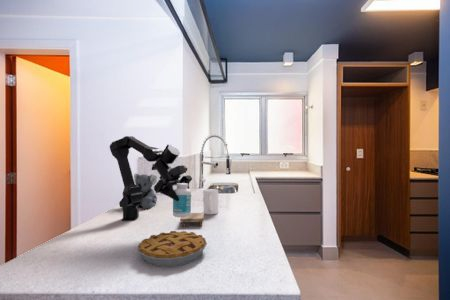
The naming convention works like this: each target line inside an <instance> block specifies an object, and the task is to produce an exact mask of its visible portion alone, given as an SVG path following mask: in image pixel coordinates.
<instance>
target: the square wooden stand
mask: <svg viewBox="0 0 450 300" xmlns="http://www.w3.org/2000/svg"><path fill="white" fill-rule="evenodd" d="M204 217H205V214H204V213H203V212H191V214H190V216H188V217H179V221H180V222H181V227H186V223H188V222H190V223H191V222H198V226H199V227H202V226H203V222H204V219H205V218H204Z"/></svg>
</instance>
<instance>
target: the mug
mask: <svg viewBox="0 0 450 300" xmlns="http://www.w3.org/2000/svg"><path fill="white" fill-rule="evenodd" d="M202 193H203V195H202V203H203V204H202V207H203V209H202V210H203V211H202V213H204V215H216V214H219V189H217V188H205V189H203V190H202Z"/></svg>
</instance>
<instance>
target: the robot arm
mask: <svg viewBox="0 0 450 300" xmlns="http://www.w3.org/2000/svg"><path fill="white" fill-rule="evenodd" d="M130 149H134V150H136V151H137V152H139V153H140V154H141V155H142V157H143V158H144V159H145V160H146V161H147V162H151V163H152V165H151V171H157V173H158V174H159V175H160V176H159V180H157V182H156V183H155V184H154V187H153V191H154V193H156V194H161V195H162V194H163V195H164V196H166V197H168V198H170V199H172V200H173V199H174V200H176V201H179V198H178V196H177V194H176V193H175V191H174V190H175V188H174V186H177V183H187V184H188V187H187V188H188V189H190V183H191V182H192V180H193V178H192V176H191V175H190V174H189V175H188V174H186V173H187V171H188V167H187V165H186V164H184V163H183V164H181V165H176V166H175V167H171V165H172V164H174V162H175V161H176V160H177V158H178V157H179V155H180V154H181V152H180V150H179V149H178V148H177V147H174V146H173V145H172V144H166V146H165V148H164V149H163V150H162V149H160V148H159V147H158V148H157V147H153V146H150V145H148V144H146V143H144V142H142V141H140V140H139V139H137V138H136V137H134V136H131V135H126V136H123V137H122V138H120V139H117V140H115V141H112V142H111V143H110V144H109V151H110V153H111V154H112V156H113V157H114V159H116V162H117V164H118V169H119V172H120V176H121V178H122V182H123V187H124V188H123V191H122V199H121V200H120V201H119V207H120V208H122V219H121V221H136V220H137V219H138V218H139V217H140V209H139V208H138V207H139V206H138V205H140V204H141V200H142V194H143V193H142V191H141V187H140V186H136V184H135V180H134V174H133V172H132V168H131V165H130V162H129V158H128V156H129V154H130ZM153 162H154V163H153ZM183 174H186V175H183Z"/></svg>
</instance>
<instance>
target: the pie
mask: <svg viewBox="0 0 450 300" xmlns="http://www.w3.org/2000/svg"><path fill="white" fill-rule="evenodd" d="M207 245H208V243H207V241H206V237H203V235H202V234H197V233H195V232H192V231H190V232H187V231H186V230H183V231H177V230H171V231H170V232H160V233H159V234H152V235H150V237H148V238H144V239H142V240H141V242H139V243H138V245H137V252H138V253H139V254H140V255H141V258H142V259H143V260H144V261H145V262H147V264H150V265H154V266H157V267H162V266H164V268H173V267H178V266H182V265H186V264H189V263H191V262H194V261H195V260H196V259H198V258H200V257H201V255H202V254H203V251H204V250H205V249H206V247H207Z"/></svg>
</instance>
